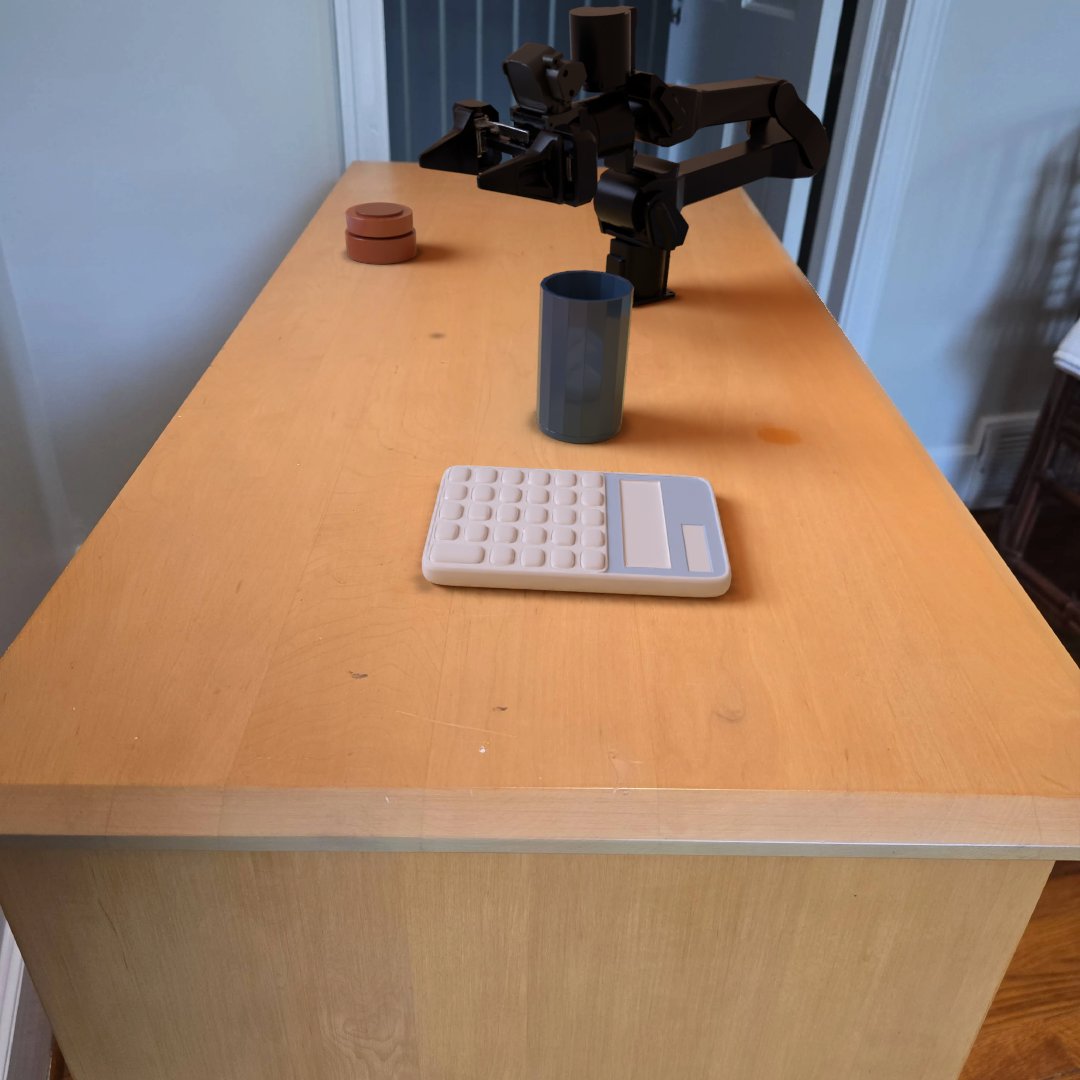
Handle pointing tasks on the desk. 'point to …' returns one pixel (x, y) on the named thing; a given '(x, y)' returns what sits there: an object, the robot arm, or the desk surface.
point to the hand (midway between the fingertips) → (447, 171)
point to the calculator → (577, 532)
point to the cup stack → (380, 233)
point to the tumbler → (582, 354)
